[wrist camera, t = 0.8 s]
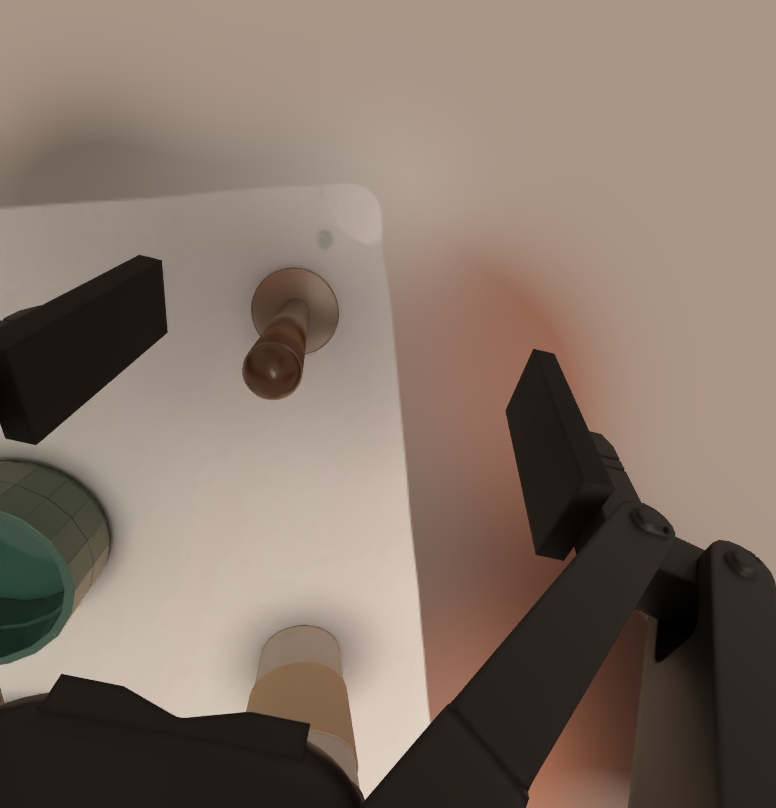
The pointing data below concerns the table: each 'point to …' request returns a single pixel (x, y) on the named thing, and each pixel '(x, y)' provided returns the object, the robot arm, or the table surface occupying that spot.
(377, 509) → the table surface
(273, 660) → the coffee cup
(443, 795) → the robot arm
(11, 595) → the bowl
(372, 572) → the table surface
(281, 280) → the paper towel holder
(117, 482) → the table surface
